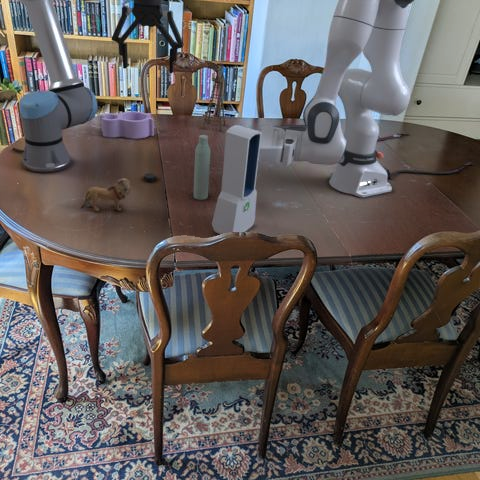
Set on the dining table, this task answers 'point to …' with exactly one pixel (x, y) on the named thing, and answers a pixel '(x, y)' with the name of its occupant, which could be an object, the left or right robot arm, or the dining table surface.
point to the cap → (149, 177)
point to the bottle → (202, 168)
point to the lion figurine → (108, 193)
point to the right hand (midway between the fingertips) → (243, 139)
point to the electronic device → (238, 181)
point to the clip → (127, 125)
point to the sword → (390, 137)
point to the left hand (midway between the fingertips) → (148, 70)
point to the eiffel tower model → (217, 80)
